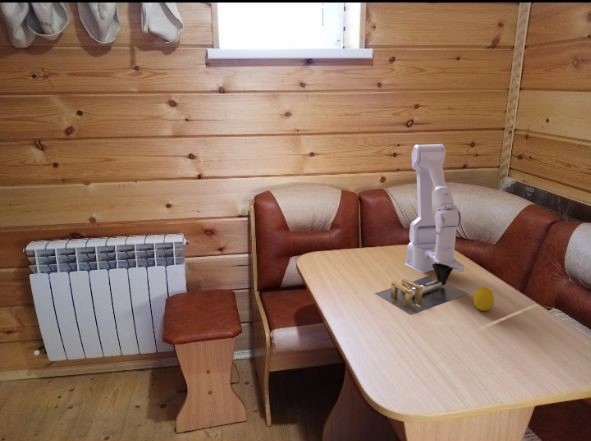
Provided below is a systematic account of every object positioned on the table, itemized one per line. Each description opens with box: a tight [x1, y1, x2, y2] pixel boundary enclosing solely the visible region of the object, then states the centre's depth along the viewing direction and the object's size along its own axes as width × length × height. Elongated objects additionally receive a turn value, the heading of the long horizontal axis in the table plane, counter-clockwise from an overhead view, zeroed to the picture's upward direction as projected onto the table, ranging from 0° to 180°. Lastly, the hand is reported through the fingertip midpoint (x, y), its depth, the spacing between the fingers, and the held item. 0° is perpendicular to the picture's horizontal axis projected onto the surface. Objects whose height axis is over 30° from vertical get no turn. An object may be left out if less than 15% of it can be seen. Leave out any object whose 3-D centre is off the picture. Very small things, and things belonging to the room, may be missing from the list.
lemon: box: [473, 286, 495, 312], centre depth 139 cm, size 6×6×8 cm
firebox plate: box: [374, 275, 470, 316], centre depth 150 cm, size 16×25×5 cm, turn 121°
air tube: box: [410, 280, 442, 298], centre depth 150 cm, size 13×3×3 cm, turn 121°
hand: (441, 284), depth 154 cm, fingers closed, pressing on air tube
